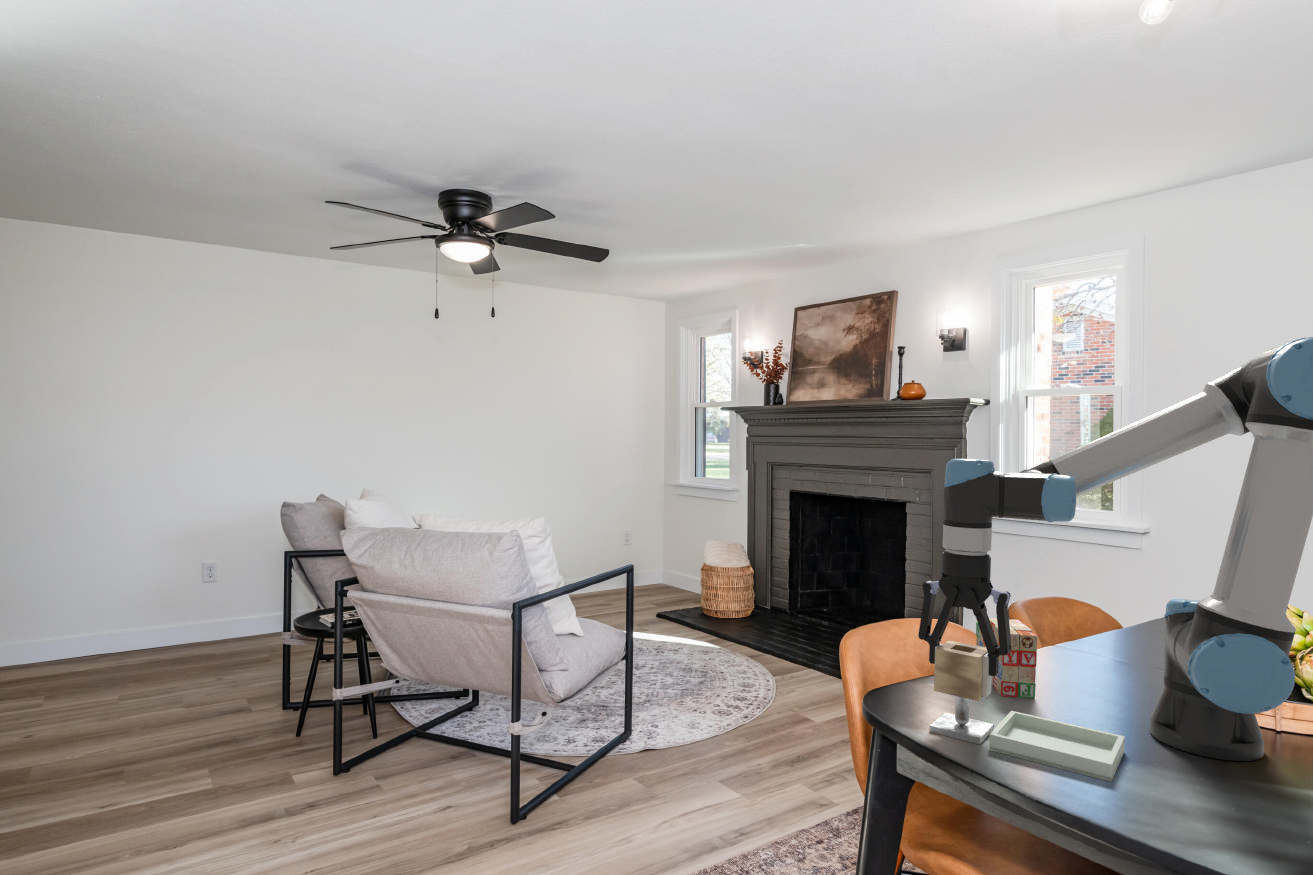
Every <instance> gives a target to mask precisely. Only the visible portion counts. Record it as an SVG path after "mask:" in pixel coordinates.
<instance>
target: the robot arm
mask: <svg viewBox="0 0 1313 875" xmlns="http://www.w3.org/2000/svg"><path fill="white" fill-rule="evenodd" d="M1248 433H1251V434H1252V436H1253V439H1254V440H1253V443H1252V447H1251V450H1250V451H1251V452H1250V455H1249V457H1248V458H1249V459H1248V462H1247V466H1246V469H1245V473H1244V477H1243V480H1242V485H1241V488H1240V491H1239V496H1238V500H1237V504H1236V506H1235V507H1236V508H1235V510H1234V514H1233V517H1232V518H1233V519H1232V522H1231V526H1230V528H1229V529H1230V530H1229V533H1228V536H1227V540H1226V545H1225V547H1224V548H1225V549H1224V552H1223V556H1222V559H1221V564H1220V567H1219V569H1218V574H1217V578H1216V582H1215V584H1214V589H1213V592H1212V594H1211V595H1209V596H1207V597H1205V598H1202V599H1200V600H1195V599H1182V598H1174V599H1170V600H1168V602H1166V606H1165V613H1164V615H1163V619H1164V620H1165V622H1164V658H1163V659H1164V660H1163V687H1162V690H1161V693H1160V695H1159V696H1158V697H1159V698H1158V699H1157V702H1156V704H1155V706H1154V707H1153V710H1152V713H1151V716H1150V719H1149V732H1150V734H1151V735H1152V736H1153V737H1154V738H1155V739H1156V740H1158V741H1160V742H1162V743H1163V744H1165V745H1167V746H1170V747H1173V749H1178V750H1180V751H1183V752H1187V753H1190V754H1194V755H1198V756H1201V757H1206V758H1211V759H1217V760H1224V761H1233V762H1234V761H1235V762H1249V761H1256V760H1259V759H1262V758H1263V757H1264V755H1265V740H1264V736H1263V734H1262V731H1261V728H1260V725H1259V722H1258V719H1257V716H1256V714H1261V713H1265V712H1268V711H1271V710H1273V709H1276V708H1277V707H1279V706H1281V705H1282V704H1284V703H1285V701H1287V700H1288V698H1290V696H1291V694H1292V692H1293V690H1294V687H1295V683H1296V677H1295V676H1296V674H1295V668H1294V665H1293V663H1292V661H1291V659H1290V657H1289V656H1290V652H1291V649H1292V645H1293V642H1294V638H1295V634H1296V629H1297V628H1296V627H1295V626H1294V624H1293V623H1292V622H1291V621H1290V618H1288V615H1287V611H1288V607H1289V604H1290V600H1291V596H1292V592H1293V588H1294V585H1295V581H1296V577H1297V574H1298V571H1299V567H1300V564H1301V561H1302V557H1303V553H1304V550H1305V545H1306V542H1307V538H1308V534H1309V530H1310V528H1311V523H1312V521H1313V336H1309V337H1308V336H1307V337H1301V338H1297V339H1295V340H1292V341H1290V342H1287V343H1285V344H1284V345H1281V346H1277V347H1273V348H1271V349H1268V350H1266V351H1264V352H1262V353H1260V354H1259V355H1256V356H1255V357H1253V358H1252V359H1250V360H1249V361H1247V362H1246V363H1243V364H1242V365H1240V366H1239V367H1238V368H1237V367H1236V368H1235V369H1233V370H1232V371H1230V372H1228V373H1226V374H1225V375H1222V376H1220V377H1218V378H1216V379H1214V380H1212V381H1210V382H1208V383H1205V386H1204V388H1203V390H1202V392H1200V393H1198V394H1196V395H1193V396H1191V397H1189V398H1187V399H1184V400H1182V401H1180V402H1178V403H1176V404H1174V405H1171V406H1169V407H1167V408H1165V409H1162V410H1160V411H1157V412H1155V413H1153V414H1151V415H1149V416H1147V417H1143V418H1141V419H1139V420H1137V421H1135V422H1133V423H1130V424H1128V425H1126V426H1123V427H1122V428H1119V429H1116V430H1115V431H1112V432H1109V433H1108V434H1106V435H1103V436H1102V437H1098V438H1097V439H1094V440H1092V441H1090V442H1088V443H1085V444H1083V445H1080V446H1077V447H1075V448H1074V449H1072V450H1069V451H1066V452H1065V453H1063V454H1061V455H1058V456H1056V457H1053V458H1051V459H1050V460H1048V461H1045V462H1042V463H1040V464H1037V465H1036V466H1034V467H1031V468H1029V469H1023V470H1020V471H1019V472H1005V471H1004V472H1003V471H1002V472H1001V471H996V469H995V465H994V461H992V460H990V459H978V458H975V459H974V458H952V459H950V460H949V461H948V462H947V463H946V464H945V474H944V485H943V526H942V527H943V528H942V547H943V549H945V550H944V551H943V552H942V554H941V558H942V559H941V577H940V578H939V580H936V581H933V580H928V581H925V582H923V583H922V584H921V586H922V592H923V602H922V609H921V616H920V621H919V629H918V635H917V637H918V639H919V640H921V641H924V642H927V644H928V645H929V650H928V651H929V652H928V655H929V656H928V662H929V663H930V664H933V665H935V649H936V648H938V647H939V646H941V645H942V644H943V643H941V642H942V638H943V636H944V633H945V631H946V629H947V626H948V624H949V623H950V620H951V618H952V615H953V614H954V611H955V610H956V608H965V609H967V610H972V614H973V615H974V617H975V619H976V622H978V625H979V628H980V631H981V634H982V637H983V640H984V643H985V646H986V649H987V652H988V653H987V654H985V655H984V656H983V681H982V696H983V697H984V698H987V697H989V696H990V695H991V694H992V686H993V685H992V676H994V677H995V676H996V675H997V674H998V671H999V656H1000V655H1007V654H1008V653H1009V652H1011V650H1012V646H1011V635H1010V625H1009V619H1010V617H1009V615H1010V614H1009V603H1010V599H1011V597H1012V596H1011V595H1012V594H1011V593H1010V591H1008V590H1006V591H1002V590H999V589H996V588H994V586H993V584H992V581H991V569H992V568H991V567H992V565H991V564H992V557H991V555H990V554H989V553H990V551H992V537H993V534H992V533H993V532H992V531H993V528H992V527H993V518H998V519H1004V518H1005V519H1014V520H1027V521H1038V522H1039V521H1040V522H1041V521H1042V522H1047V523H1053V522H1056V523H1057V522H1059V523H1060V522H1062V523H1064V522H1065V523H1068V522H1071V521H1072V520H1074V518H1075V515H1076V509H1077V497H1079V496H1082V495H1084V494H1087V493H1089V492H1091V491H1094V490H1096V489H1098V488H1101V487H1103V486H1106V485H1108V484H1110V483H1113V482H1115V481H1117V480H1120V479H1123V478H1125V477H1127V476H1130V475H1132V474H1135V473H1137V472H1140V471H1142V470H1144V469H1147V468H1150V467H1151V466H1154V465H1156V464H1159V463H1161V462H1163V461H1166V460H1168V459H1172V458H1174V457H1176V456H1178V455H1180V454H1183V453H1185V452H1187V451H1190V450H1192V449H1195V448H1197V447H1199V446H1202V445H1204V444H1207V443H1209V442H1212V441H1214V440H1216V439H1218V438H1221V437H1224V436H1227V435H1229V434H1230V435H1235V436H1240V437H1241V436H1243V435H1245V434H1248ZM939 589H940V591H942V594H943V595H944V596H945V598H946V599H945V601H944V603H943V605H942V610H941V612H940V614H939V616H938V618H937V621H936V624H935V626H934V628H933V630H932V624H933V618H934V611H935V604H936V598H937V596H936V595H937V593H939ZM990 596H991V597H992V598H993V599H992V600H993V603H994V604H995V605H996V607H995V608H996V609H995V612H996V613H995V614H996V619H997V624H998V635H999V646H998V643H997V640H996V637H995V635H994V632H993V629H992V626H991V623H990V620H989V618H990V617H989V614H988V609H987V605H986V603H985V602H986V600H988V598H989V597H990ZM931 630H932V632H931ZM933 669H934V675H933V679H934V678H935V668H933Z"/></svg>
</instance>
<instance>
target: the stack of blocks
mask: <svg viewBox="0 0 1313 875" xmlns="http://www.w3.org/2000/svg"><path fill="white" fill-rule="evenodd" d="M989 620H990V623H991V626H992V629H993V632H994V635H995V637H996V640H997V643H998V646H999V635H998V624H997V617H995V618H994V617H993V618H992V617H989ZM975 625H976V626H975V636H976V640H975V641H976V646H981V647H986V646H985V643H984V640H983V637H982V634H981V631H980V628H979V625H978V622H977V621H976V624H975ZM1009 625H1010V635H1011V646H1012V650H1011V652H1009V653H1008V654H1007V655H1000V656H999V671H998V674H997V675H996V676H995V677H994V676H992V686H993V688H994V689H995V690H996V692H997V693H998V695H999V696H1000V697H1008V698H1009V697H1010V698H1020V699H1021V698H1022V699H1034V700H1035V699H1036V687H1037V686H1036V673H1037V672H1036V671H1037V670H1036V669H1037V661H1038V660H1037V657H1038V652H1037V651H1038V635H1037V634H1036V633H1035V632H1034V631H1033V630H1032V629H1031V628H1029V627H1028V626H1027V625H1026V624H1024V623H1023V622H1022V621H1020V620H1019V619H1014V618H1013V619H1011V618H1009Z"/></svg>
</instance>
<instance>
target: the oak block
mask: <svg viewBox="0 0 1313 875" xmlns="http://www.w3.org/2000/svg"><path fill="white" fill-rule="evenodd" d="M941 644H942V645H941V646H939V647H938V648H936V649H935V664H934V669H935V678H934V677H933V692H937V693H942V694H946V695H951V696H954V697H956V696H958V697H963V698H967V699H970V700H972V701H976V702H978V701H980V700H981V699H982V698H983V697H984V696H982V681H983V656H984V655H985V654H987V653H988V652H987V649H986V647H981V646H976V645H975V644H970V643H969V644H968V643H964V642H959V641H955V640H954V641H952V640H947V641H945V642H944V643H941Z"/></svg>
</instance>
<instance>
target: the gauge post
mask: <svg viewBox="0 0 1313 875" xmlns="http://www.w3.org/2000/svg"><path fill="white" fill-rule="evenodd" d="M970 700H971V699H967V698H963V697H958V696H955V697H954V701H955V702H954V704H955V705H954V714H953V713H949V712H944V713H943V714H941V715H940V716H939V717H938V718H936V720H934V721H933V722H932V723H930V725H929V733H930V732H931V733H934V734H938V735H942V736H946V737H948V738H949V737H950V738H954V739H956V740H957V739H958V740H961V741H965V742H969V743H972V744H976V745H981V744H982V743H983V742H984V741H985V740H987V738H989V735H990V733H991V732H992V731H993V730H994V729H995V724H994V723H991V722H988V721H987V722H986V721H982V720H978V719H974V718H970V708H971V707H970V705H971V704H970V703H971V702H970Z"/></svg>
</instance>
